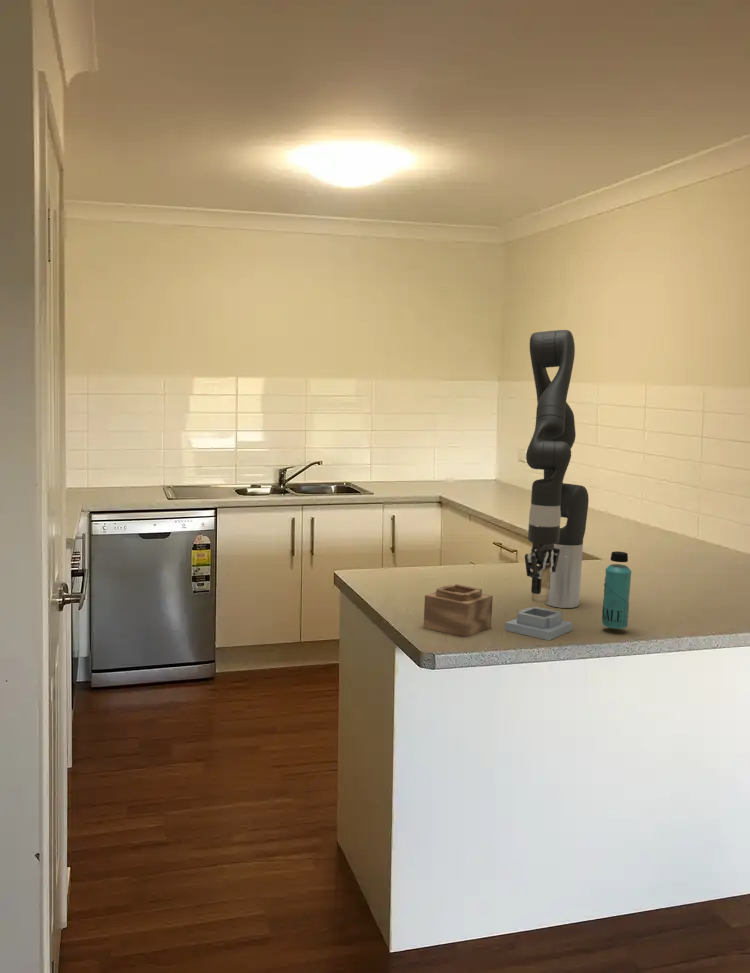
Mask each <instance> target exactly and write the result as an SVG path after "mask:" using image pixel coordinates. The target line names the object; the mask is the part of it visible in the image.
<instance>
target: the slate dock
mask: <svg viewBox="0 0 750 973" xmlns="http://www.w3.org/2000/svg"><path fill="white" fill-rule="evenodd" d="M562 617H563V611H558V610H554V609H549V608H543V607H539V606H534V607H530V606H529V607H526V608H523V609H521V610H517V614H516V618H514V619H511V620H509V621H506V622H505V628H504V629H505V630H504V631H506V632H511V633H515V634H519V635H523V636H528V637H533V638H538V639H541V640H545V641H551V640H553V639H556V638H558V637H560V636H562V635H566V634H567V633H569V632H572V631H573V622H571V621H566V620H563V618H562Z"/></svg>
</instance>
